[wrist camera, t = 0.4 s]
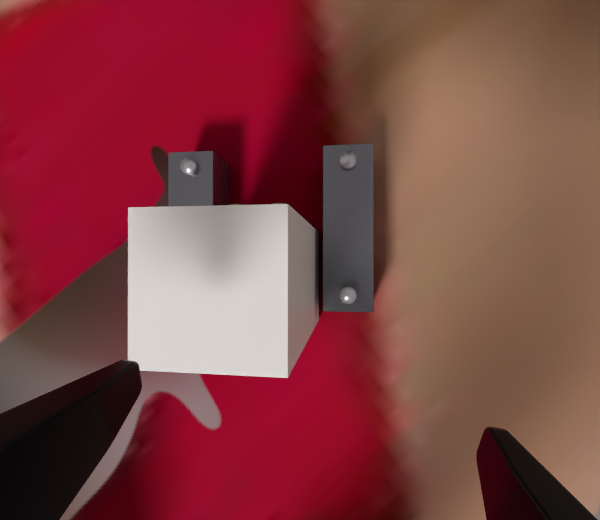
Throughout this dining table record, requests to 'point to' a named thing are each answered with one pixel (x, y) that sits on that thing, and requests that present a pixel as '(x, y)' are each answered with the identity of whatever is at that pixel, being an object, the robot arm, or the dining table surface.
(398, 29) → the dining table surface
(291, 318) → the plug
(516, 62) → the dining table surface
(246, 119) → the dining table surface
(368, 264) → the housing
